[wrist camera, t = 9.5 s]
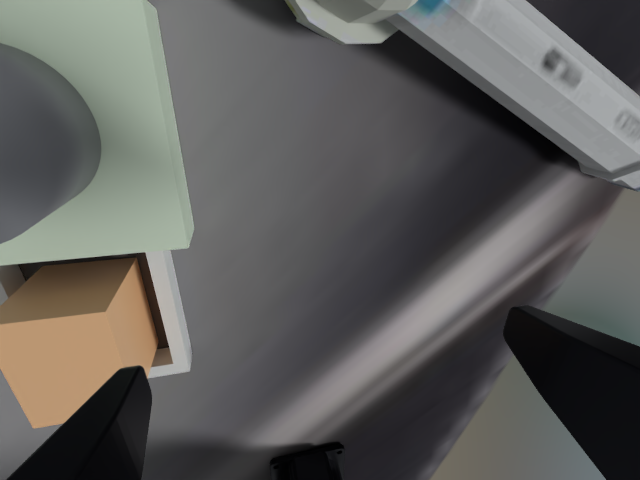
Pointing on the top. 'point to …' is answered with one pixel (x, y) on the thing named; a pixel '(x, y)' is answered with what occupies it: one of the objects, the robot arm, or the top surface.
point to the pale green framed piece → (91, 148)
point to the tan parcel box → (74, 334)
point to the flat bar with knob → (508, 69)
